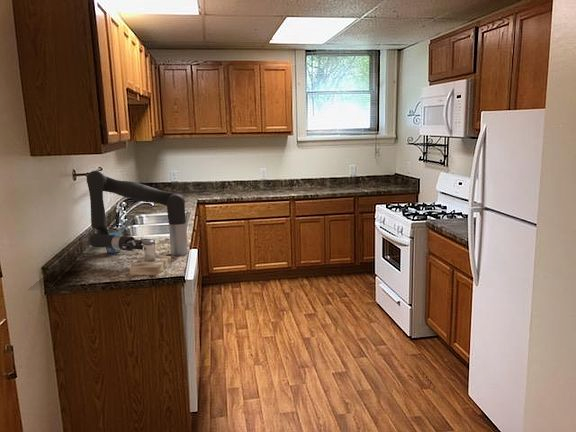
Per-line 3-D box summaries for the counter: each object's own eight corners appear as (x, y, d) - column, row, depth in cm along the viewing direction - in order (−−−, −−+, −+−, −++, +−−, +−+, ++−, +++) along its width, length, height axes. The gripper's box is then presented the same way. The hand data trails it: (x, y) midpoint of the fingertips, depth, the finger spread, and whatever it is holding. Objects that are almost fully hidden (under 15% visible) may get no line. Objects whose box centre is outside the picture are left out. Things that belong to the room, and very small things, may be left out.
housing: (146, 258, 229) (145, 239, 227) (158, 258, 228) (156, 239, 226) (142, 262, 223) (140, 242, 221) (153, 262, 223) (152, 242, 221)
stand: (144, 263, 236) (143, 255, 235) (171, 263, 235) (170, 255, 234) (130, 274, 218) (129, 265, 218) (158, 274, 217) (158, 265, 216)
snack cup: (131, 251, 263) (129, 233, 261) (118, 255, 253) (116, 237, 251) (110, 248, 269) (108, 232, 267) (96, 253, 259) (94, 235, 257)
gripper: (112, 238, 224) (137, 241, 218) (132, 232, 237) (157, 234, 230) (113, 253, 226) (139, 256, 219) (134, 246, 238) (158, 249, 232)
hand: (148, 245), depth 225 cm, fingers open, 8 cm apart
